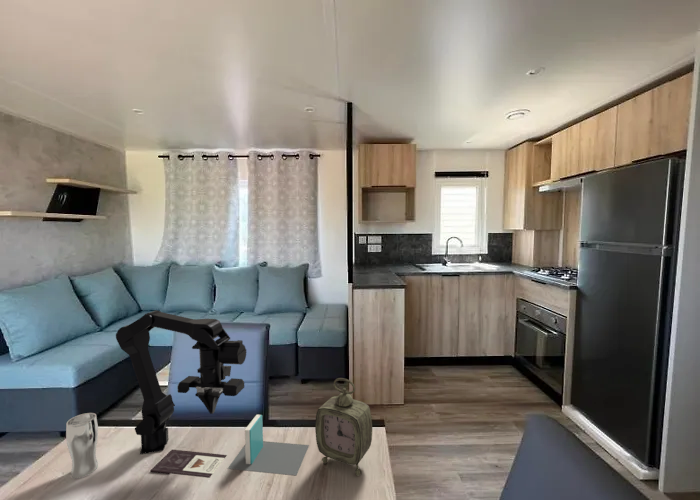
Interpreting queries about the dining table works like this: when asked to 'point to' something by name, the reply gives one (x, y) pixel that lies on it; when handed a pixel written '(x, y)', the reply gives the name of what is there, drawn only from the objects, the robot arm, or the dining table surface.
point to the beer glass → (82, 444)
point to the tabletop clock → (344, 428)
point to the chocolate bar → (189, 463)
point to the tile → (253, 439)
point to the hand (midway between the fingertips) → (212, 413)
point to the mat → (273, 458)
